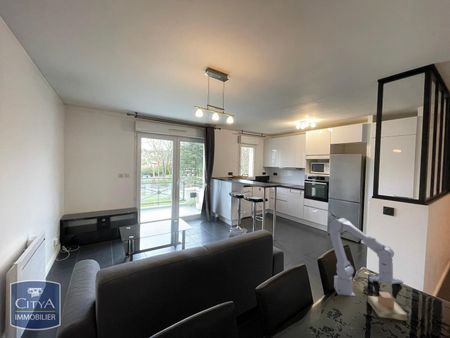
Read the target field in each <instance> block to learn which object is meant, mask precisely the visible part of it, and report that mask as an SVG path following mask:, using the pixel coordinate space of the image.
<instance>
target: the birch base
mask: <svg viewBox="0 0 450 338" xmlns="http://www.w3.org/2000/svg"><path fill="white" fill-rule="evenodd" d="M367 302H368V304H369V305H370V306H371V307H372V310H373V311H374V312H375V313H376V314H377V316H378V317H380V318H385V319H386V318H387V319H392V320H393V319H394V320H400V321H408V313H406V311H405V310H404V309H403V308H402V307H401V306H400V305H399V304H398V303H397V302H396V301H395V300H394V308H389V307H383V306H382V305H381V304H380V303H379V301H378V296H374V295H373V296H371V295H367Z"/></svg>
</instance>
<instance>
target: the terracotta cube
mask: <svg viewBox="0 0 450 338" xmlns="http://www.w3.org/2000/svg"><path fill="white" fill-rule="evenodd" d="M377 297H378V296H377ZM378 301H379V303H380V304H381V305H382V306H383V307H389V308H394V301H395V298H394V297H393V296H392V294H391V293H389V292H387V291H380V290H379V297H378Z"/></svg>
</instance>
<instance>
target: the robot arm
mask: <svg viewBox="0 0 450 338" xmlns="http://www.w3.org/2000/svg"><path fill="white" fill-rule="evenodd" d="M342 231H344V232H349V233H351V234H353V235H354V236H356V238H359V240H362V242H363V245H365V247H367V248H369V249H370V250H371V251H373V252H374V253H375V254H376V256H377V257H378V275H376V276H369V277H368V281H369V282H370V283H371V284H372V286H373V288H374V292H375V295H376V297H379V291H380V290H381V285H380V283H383V284H387V285H391V296H392V297H393V298H394V300H395V299H397V297H398V295H399V293H400V292H401V290H403V287H402V286H404V281H403V280H401V279H399V278H398V279H397V278H394V277H393V276H394V272H393V271H394V268H393V267H394V266H393V265H394V264H393V258H394V256H395V252H394V250H393V249H392V248H391V247H390V246H387V245H385V244H382V243H381V242H380V241H378V240H377V238H375V237H372V236H370V235H369V236H368V235H366V234H365V232H363V231H361V230H360V229H359V228H357V227H356V226H355V225H353V223H352V222H351V221H350V220H348V219H346V218H345V217H340V218H337V219H334V220H331V222H329V230H328V233H329V236H330V240H331V244H332V246H333V247H332V248H333V249H334V250H333V251H334V253H335V258H336V260H337V262H336V274H337V275H334V276H333V288H334V290H335V292H336V293H337V295H342V296H350V297H356V294H355V293H354V292H353V274H354V273H355V269H354V267H353V265H352V264H351V262H350V261H349V260H348V259H347V255H346V252H345V249H344V245H343V241H342V239H341V238H342V237H341V235H340V233H341V232H342Z"/></svg>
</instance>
